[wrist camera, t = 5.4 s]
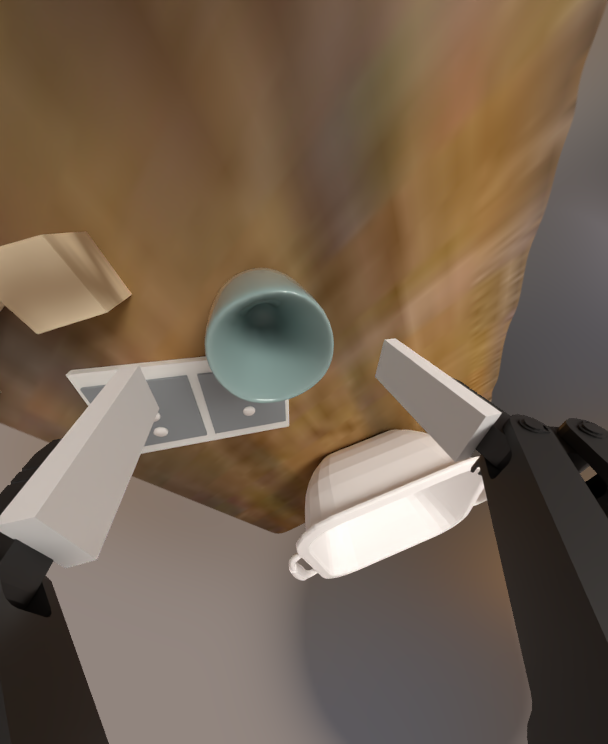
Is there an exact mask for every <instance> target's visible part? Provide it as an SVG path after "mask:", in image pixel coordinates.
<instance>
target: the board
mask: <svg viewBox="0 0 608 744" xmlns="http://www.w3.org/2000/svg"><path fill="white" fill-rule="evenodd" d="M137 365H139V367H140V369H141V371H142V373H143V375H144V377H145V379H146V381H147V383H148V386H149V388H150V390H151V392H152V394H153V396H154V398H155V400H156V402H157V405H158V407H159V411H158V413H157V415H156V418H155V420H154V423H153V425H152V428H151V430H150V432H149V435H148V437H147V440H146V442H145V445H144V447H143V449H142V452H141V454H142V453H148V452H153V451H158V450H164V449H169V448H174V447H180V446H185V445H191V444H196V443H201V442H207V441H212V440H218V439H223V438H228V437H234V436H239V435H245V434H250V433H255V432H261V431H266V430H271V429H277V428H282V427H288V426H289V399H287V400H284V401H280V402H275V403H254V402H249V401H246V400H243V399H240V398H238V397H237V396H235V395H233V394H231V393H230V392H229V391H228V390H226V389H225V388H224V387H223V386H222V385H221V384H220V383H219V381H218V380H217V379H216V378H215V376H214V374H213V373H212V371H211V369H210V367H209V364H208V361H207V358H206V356H204V357H194V358H184V359H175V360H165V361H155V362H145V363H136V364H126V365H116V366H106V367H97V368H87V369H77V370H71V371H70V372H68V373H67V374H66V376H67V378H68V379H69V380H70V382H71V383H72V384H73V386H74V387H75V388H76V390H77V391H78V393H79V394H80V395H81V397H82V398H83V399H84V401H85V402H86V403H87V405H88V406H89V405H90V404H91V403H92V401H93V400H94V399H95V398H96V396H97V395H98V394H99V393H100V391H101V390H102V389H103V388H104V387H105V385H106V384H107V383H108V382H109V380H110V379H111V378H112V377H113V375H114V374H115V373H116V372H117V370H118V369H119V368H120V367H128V366H137Z"/></svg>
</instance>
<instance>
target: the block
mask: <svg viewBox="0 0 608 744" xmlns="http://www.w3.org/2000/svg"><path fill="white" fill-rule="evenodd" d="M131 295H132V294H131V292H130V291H129V289H128V288H127V287H126V285H125V284H124V283H123V281H122V280H121V278H120V277H119V276H118V274H117V273H116V271H115V270H114V269H113V267H112V266H111V264H110V263H109V262H108V260H107V259H106V258H105V256H104V255H103V253H102V252H101V251H100V249H99V248H98V246H97V245H96V244H95V242H94V241H93V240H92V238H91V237H90V235H89V234H88V233H87V231H84V232H70V233H57V234H43V235H39V236H35V237H32V238H28V239H24V240H21V241H17V242H14V243H10V244H7V245H3V246H0V301H1V302H2V303H3V304H4V305H5V306H6V307H7V308H8V309H10V310H11V311H12V312H13V313H14V314H15V315H16V316H17V317H19V318H20V319H21V320H22V321H23V322H24V323H25V324H26V325H28V326H29V327H30V328H31V329H32V330H33V331H34V332H35V333H37V334H40V333H44V332H47V331H50V330H53V329H56V328H59V327H63V326H66V325H69V324H72V323H75V322H79V321H82V320H85V319H88V318H91V317H95V316H98V315H101V314H104V313H107V312H109V311H110V310H111V309H113V308H114V307H116V306H117V305H118V304H120V303H121V302H122V301H124V300H125V299H127V298H128V297H129V296H131Z"/></svg>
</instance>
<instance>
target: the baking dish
mask: <svg viewBox="0 0 608 744" xmlns="http://www.w3.org/2000/svg"><path fill="white" fill-rule="evenodd" d="M478 458H479V457H474V458H471V457H470V458H468V459H465V460H461V461H457V462H454V461H453V459H452V458H451V457H450V456H449V455H448V454H447V453H446V452H445V451H444V450H443V449H442V448H441V447H440V446H439V445H438V443H437V442H436V441H435V440H434V439H433V438H432V437H431V436H430V435H429V434H427V433H424V432H419V431H413V430H396V429H395V430H390V431H387V432H384V433H382V434H379V435H377V436H374V437H372V438H369V439H367V440H364V441H362V442H359V443H357V444H354V445H352V446H349V447H347V448H344V449H342V450H339V451H337V452H334V453H332V454H330V455H328V456H326V457H325V458H324V459H323V460H322V461H321V463H320V464H319V465H318V467H317V468H316V469H315V471H314V472H313V474H312V477H311V479H310V481H309V484H308V488H307V492H306V499H305V533H303V534H302V535H301V537H300V538H299V539H298V541H297V543H296V549H297V554H295V555H293V556H292V557H291V558H290V560H289V569H290V572H291V573H292V575H293V576H294V577H296V578H297V579H299V580H306V579H307V578H309V577H311V576H313V575H314V574H317V573H319V574H320V575H321V576H322V577H324V578H327V579H328V578H336V577H340V576H344V575H347V574H350V573H352V572H354V571H357V570H359V569H362V568H364V567H366V566H369V565H371V564H373V563H375V562H378V561H380V560H382V559H384V558H387V557H389V556H392V555H394V554H396V553H398V552H401V551H403V550H405V549H407V548H410V547H412V546H414V545H417V544H419V543H421V542H424V541H425V540H428V539H430V538H432V537H435V536H437V535H439V534H441V533H443V532H445V531H447V530H449V529H450V528H452V527H454V526H455V525H457V524H458V523H459V522H461V521H462V520H463V519H464V518H465V517H466V516H467V515H468V513H469V512H470V510H471V508H472V507H473V506H474V505H478V504H480V503H482V502H484V501H485V500H486V501H487V497H486V492H485V488H484V484H483V479H482V476H481V475H478V472H479V471H480V467H478V468H477V469H476V470H475V471H474V473H473V472H470V471H471V467H472V466H473V464H474V463H475V462H476V460H477V459H478ZM300 558H303V559H304V560H305V561H306V562H307V563H308V564H309V565H310V566H311V567H312V568H313V569H312V570H305V569H304V567H303V566H301V565H300V564H298V563H297V560H299V559H300Z"/></svg>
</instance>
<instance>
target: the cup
mask: <svg viewBox="0 0 608 744" xmlns="http://www.w3.org/2000/svg"><path fill="white" fill-rule="evenodd" d="M204 344H205V354H206V358H207V361H208V364H209V367H210V369H211V371H212V373H213V374H214V376H215V378H216V379H217V380H218V381H219V383H220V384H221V385H222V386H223V387H224V388H225V389H226V390H228V391H229V392H230V393H231V394H233V395H235V396H237V397H238V398H240V399H243V400H246V401H249V402H254V403H275V402H280V401H284V400H287V399H290V398H293V397H296V396H298V395H300V394H302V393H304V392H305V391H307V390H309V389H310V388H312V387H313V386H314V385H315V384H316V383H317V382H319V381H320V379H321V378H322V377H323V376H324V375H325V373H326V371H327V369H328V368H329V366H330V363H331V360H332V356H333V349H334V340H333V332H332V329H331V326H330V322H329V320H328V318H327V316H326V314H325V312H324V310H323V309H322V307H321V306H320V305H319V304H318V302H317V301H316V300H315V299H314V298H313V297H312V295H311V294H310V293H309V292H308V291H306V290H305V289H304V288H303V287H302V286H301V285H300V284H299V283H298V282H296V281H295V280H294V279H292V278H291V277H290V276H288V275H287V274H285V273H283V272H280V271H278V270H275V269H269V268H253V269H249V270H245V271H243V272H240V273H238V274H236V275H235V276H233V277H232V278H231V279H229V280H228V281H227V282H226V283H225V284H224V285H223V286H222V287H221V289H220V290H219V292H218V294H217V296H216V298H215V299H214V302H213V304H212V307H211V310H210V314H209V317H208V322H207V327H206V332H205V337H204Z"/></svg>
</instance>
